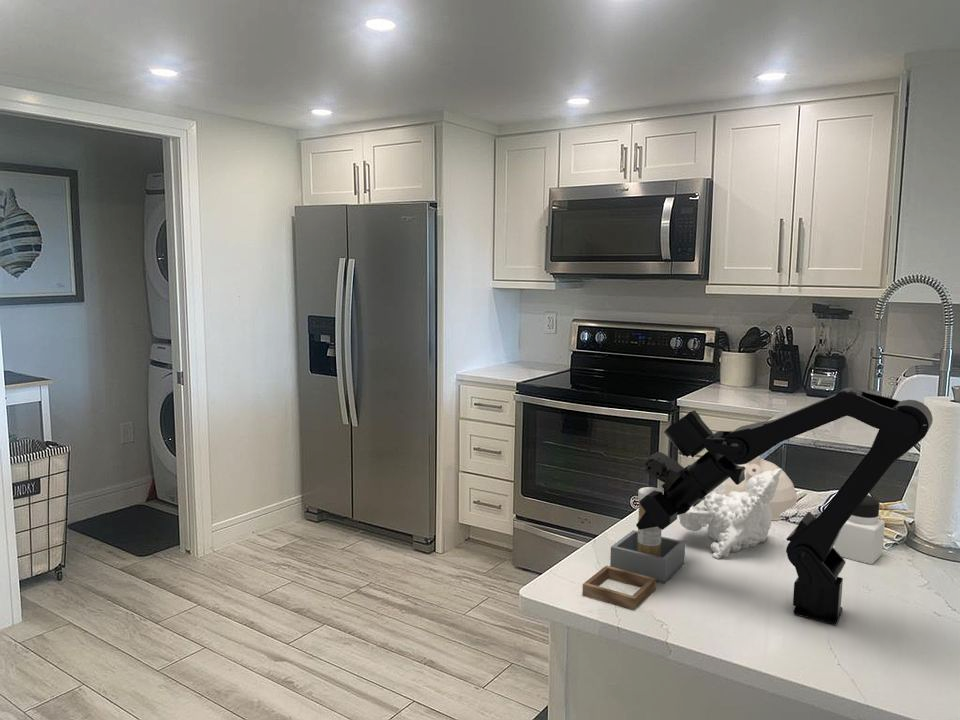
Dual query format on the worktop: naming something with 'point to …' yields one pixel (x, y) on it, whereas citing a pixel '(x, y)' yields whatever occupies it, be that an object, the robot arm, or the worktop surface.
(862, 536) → the medicine bottle
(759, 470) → the kettle
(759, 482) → the white coral
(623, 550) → the grey bin
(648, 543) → the sprinkles bottle
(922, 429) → the robot arm
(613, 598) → the walnut holder
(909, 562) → the worktop surface
